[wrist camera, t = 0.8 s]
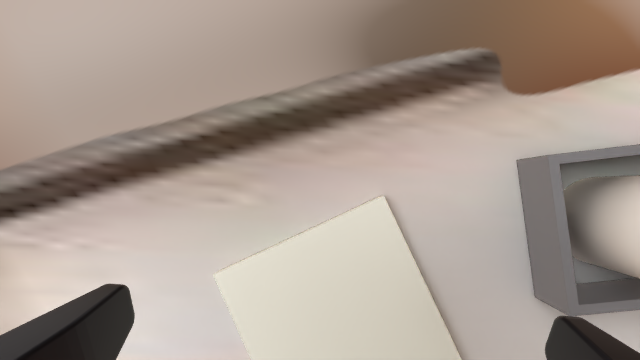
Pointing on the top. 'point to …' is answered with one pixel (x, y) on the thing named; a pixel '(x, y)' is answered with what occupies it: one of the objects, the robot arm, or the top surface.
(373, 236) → the cream board
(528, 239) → the collar
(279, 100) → the top surface
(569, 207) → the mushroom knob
